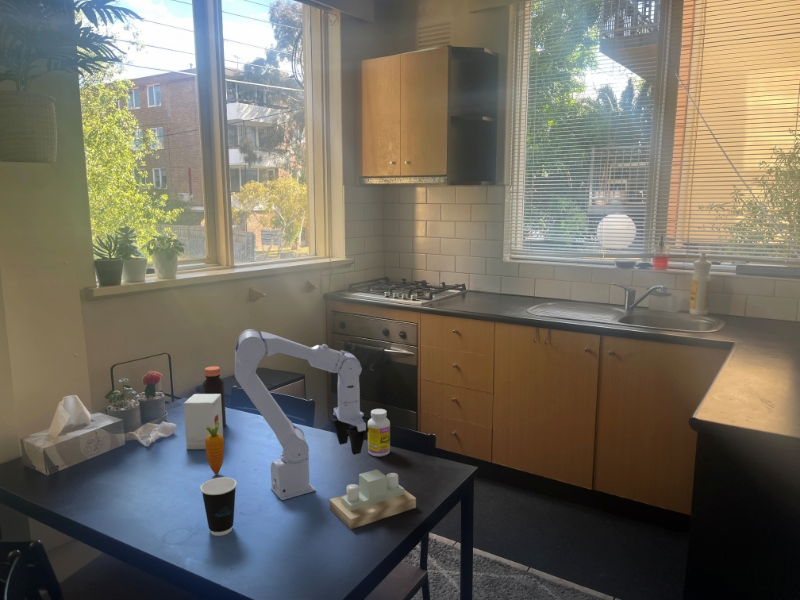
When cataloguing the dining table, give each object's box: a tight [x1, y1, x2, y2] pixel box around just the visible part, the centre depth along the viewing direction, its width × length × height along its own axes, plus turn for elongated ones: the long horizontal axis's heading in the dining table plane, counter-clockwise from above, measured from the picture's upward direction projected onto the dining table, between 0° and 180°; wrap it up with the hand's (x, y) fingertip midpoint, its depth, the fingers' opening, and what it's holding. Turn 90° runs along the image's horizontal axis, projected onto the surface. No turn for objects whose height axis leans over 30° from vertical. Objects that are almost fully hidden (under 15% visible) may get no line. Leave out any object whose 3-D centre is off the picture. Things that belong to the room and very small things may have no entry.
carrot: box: [205, 421, 225, 476], centre depth 163 cm, size 5×5×15 cm
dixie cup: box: [199, 476, 238, 537], centre depth 135 cm, size 8×8×11 cm
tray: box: [341, 468, 405, 511], centre depth 145 cm, size 15×5×6 cm, turn 123°
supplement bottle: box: [367, 408, 391, 457], centre depth 177 cm, size 7×7×13 cm
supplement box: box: [183, 393, 224, 450], centre depth 184 cm, size 9×9×15 cm
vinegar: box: [202, 365, 227, 427], centre depth 198 cm, size 7×7×20 cm
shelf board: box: [328, 489, 417, 530], centre depth 145 cm, size 18×11×2 cm, turn 123°
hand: (349, 448), depth 158 cm, fingers open, 7 cm apart
